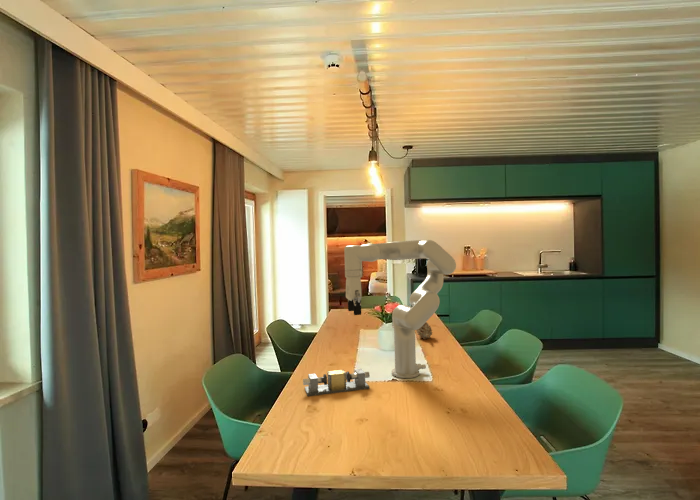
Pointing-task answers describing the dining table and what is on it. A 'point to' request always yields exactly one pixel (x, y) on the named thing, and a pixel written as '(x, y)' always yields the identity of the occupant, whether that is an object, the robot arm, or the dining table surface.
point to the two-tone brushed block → (336, 379)
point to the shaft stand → (324, 389)
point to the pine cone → (424, 331)
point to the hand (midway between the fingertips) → (354, 312)
